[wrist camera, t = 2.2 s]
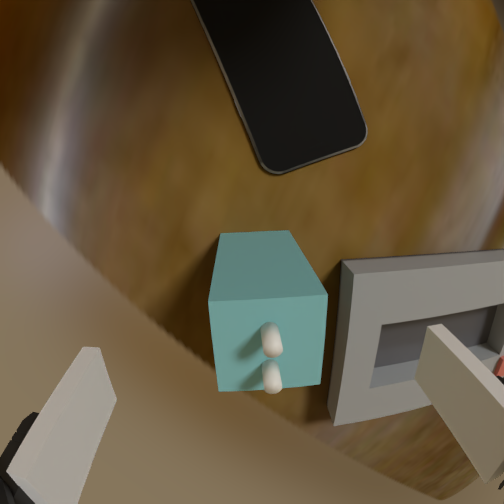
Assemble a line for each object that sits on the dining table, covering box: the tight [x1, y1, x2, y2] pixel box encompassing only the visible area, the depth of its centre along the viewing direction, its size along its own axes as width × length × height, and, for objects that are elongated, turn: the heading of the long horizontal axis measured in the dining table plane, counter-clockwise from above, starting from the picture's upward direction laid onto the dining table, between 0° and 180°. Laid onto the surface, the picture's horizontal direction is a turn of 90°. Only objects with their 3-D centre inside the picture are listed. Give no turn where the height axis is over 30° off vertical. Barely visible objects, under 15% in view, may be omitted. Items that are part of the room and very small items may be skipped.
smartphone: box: [191, 0, 367, 174], centre depth 18 cm, size 8×1×15 cm
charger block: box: [208, 230, 328, 394], centre depth 17 cm, size 4×4×11 cm
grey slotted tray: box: [327, 249, 504, 426], centre depth 23 cm, size 14×20×3 cm
